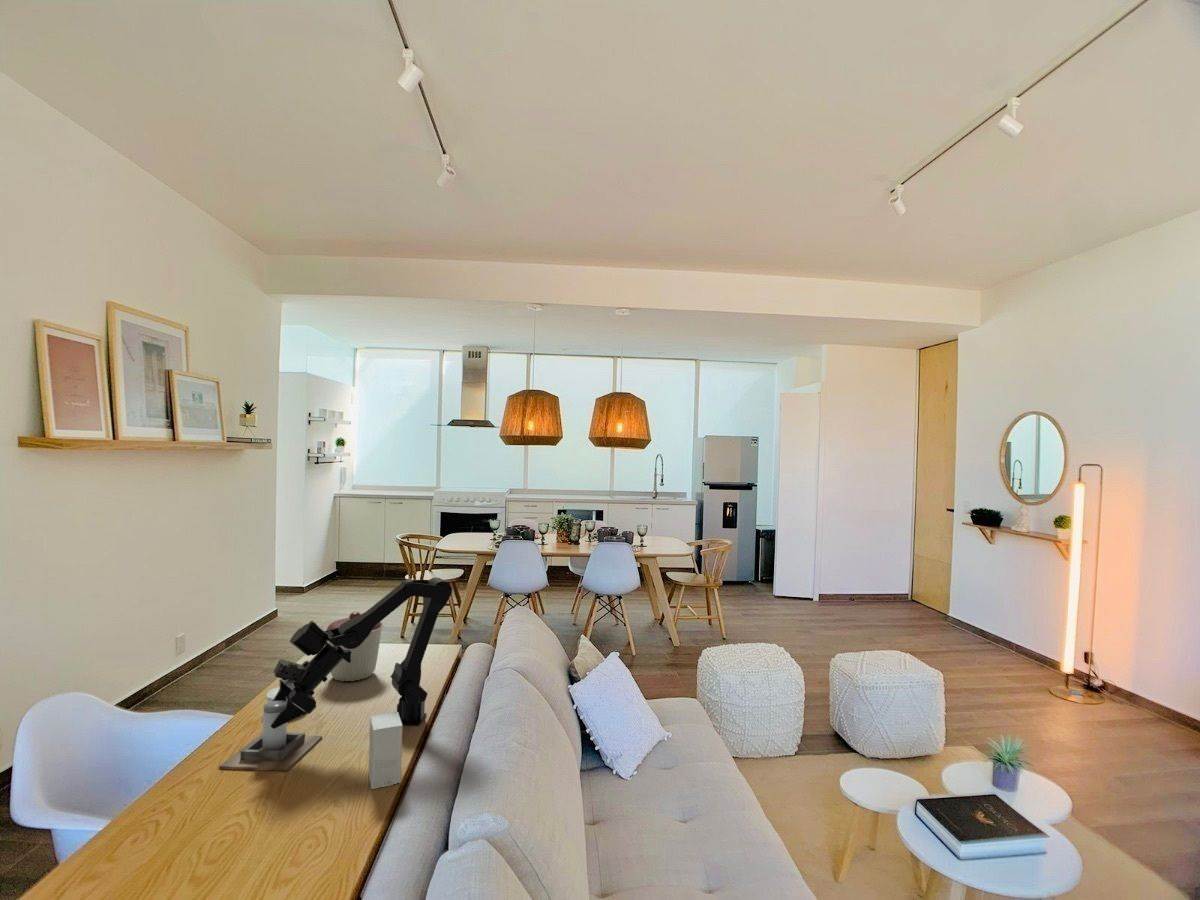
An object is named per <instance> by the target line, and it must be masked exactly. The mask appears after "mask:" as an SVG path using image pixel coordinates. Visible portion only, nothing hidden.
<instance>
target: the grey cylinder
mask: <svg viewBox="0 0 1200 900" xmlns="http://www.w3.org/2000/svg"><path fill="white" fill-rule="evenodd" d="M285 705H286V701H284V700H278V701H272V702H269V703H268V702H266V703H265V704H264V705H263V710H262V711H263V713H262V733H261V734H262V750H274V751H281V750H282V749H283V748H284V747H286V737H287V731H288V730H287V729H288V727H287V726H288V722H287V723H285V724H283V725H281V726H279V727H277V728H275V729H273V728H272V727H271V724H272V723H273V722H274V720H275V719H276V717H277V716H278V715H279V714H280V712H281V711H282V710H283V708H284V707H285Z"/></svg>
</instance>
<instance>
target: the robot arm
mask: <svg viewBox="0 0 1200 900" xmlns="http://www.w3.org/2000/svg"><path fill="white" fill-rule="evenodd" d="M452 593H453V588H452V585H451V584H450V583H449V582H448V581H446V580H444V579H442V578H440V577H432V578H430V579H403V580H402V581H401V582H400V584H399V585H398V586H396V587H395V588H394V589H392V590H390V592H388V594H386V595H385V596H384V597H382V598H381V599H380V600H379V601H377V602H376V603H375V604H373V606H371V607H370V608H369V609H367V610H366V611H365V612H363V613H360V614H361V615H358V616H356V617H353V618H351V619H350V620H348V621H346V622H345V623H343V624H341V625H340V626H339V627H337V628H334V629H330V630H326V631H325V630H323V629H322V628H321V627H320V626H318V624H317V622H315V621H314V620H311V621H309V622H308V623H306V624H304V625H303V626H302V627H299V628H298V629H297V630H296V631H295V632H294V634H293V635H292V636H291V638H290V640H289V643H290V644H291V645H292V646H294V647H295V648H297V649H298V650H299V651H301V652H302V653H303V654H304V655H305V656H307V657H309V656H314V657H313V658H311V660H310V661H309V660H305V661H304V662H303V663H302V664H300V663H297V662H293V661H290V660H287V659H286V660H285V659H281V658H280V659H279V660H278V662H277V664H276V666H275V668H274V669H273V674H274V677H275V678H277V679H278V678H279V680H278V683H279V685H278V687H279V691H278V693H277V694H276V696H275V698H274V699H273V701H278V700H284V701H286V705H285V707H284V708H283V710H282V711H281V712H280V714H279V715H278V716H277V717H276V719H275V720H274V722H273V723H272V724H271V727H272V728H273V729H275V728H277V727H279V726H281V725H283V724H285V723H287V724H288V723H289V722H291V721H293V720H295V719H297V718H300V717H302V716H303V715H304V716H306V715H310V714H312V712H314V710H315V709H316V708H317V701H316V699H315V697H314V695H315V690H316V688H317V687H318V686H319V685H320V684H321V683H322V682H323V683H326V682H327V681H328V677H327V676H328V675H330V674H331V671H332V670H333V669H334V668H335V667H336V666H337V665H338V664H339V662H340V661H341V660H342V659H344V660H345V661H347V662H348V663H350V662H351V653H352V652H351V651H350V650H344V649H343V648H341V647H340V646H343V647H344V648H347V649H355V648H357V647H358V646H360V645H361V644H362V643H363V641H364V640H365V639H366V638H367V637H368V636H369V634H370V633H371V631H372V630H373V628H374V627H375V626H376V625H377V624H378V623H379V622H380V621H381V622H383V620H384V619H386V617H388V616H389V615H390V614H391V613H393V612H394V611H395V610H396V609H397V608H399V607H400V606H401V605H402V604H403V603H405V602H406V601H407V600H409V599H410V598H411V597H419V598H420V597H421V598H422V610H421V613H420V616H419V617H418V618H419V619H418V621H417V624H416V627H415V630H414V633H413V636H412V638H411V641H410V644H409V648H408V650H407V652H406V655H405V658H404V659H403V660H402V661H401V663H398V662H395V663H394V664H395V665H394V669H393V672H392V674H391V675H390V676H389V677H390V678H391V686H392V688H393V689H394V690H395V691H396V693H397V694H398V695H399V696H400V697H399V699H398V703H397V704H396V712H398V713H399V716H400V719H401V722H402V725H403V726H404V725H405V726H407V725H408V726H419V725H421V723H422V721H424V719H425V718H426V716H427V713H426V712H425V707H426V706H425V705H426V704H425V703H426V699H427V696H428V692H427V691H426V690H425V689H424V688H423V687H422V686H421V685H420V684H421V679H422V663H423V659H424V656H425V653H426V651H427V648H428V645H429V642H430V639H431V636H432V634H433V630H434V628H435V625H436V622H437V619H438V616H439V613H440V612H442V611H443V609H444V608H445V607H446V605H447V603H448V602H449V600H450V598H451V596H452ZM328 640H329V642H331V643H332V644H333V645H334V646H332V645H331V644H329V643H328V642H327V641H328Z"/></svg>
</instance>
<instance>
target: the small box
mask: <svg viewBox="0 0 1200 900" xmlns="http://www.w3.org/2000/svg"><path fill="white" fill-rule="evenodd" d="M369 723H370V724H369V726H370V727H369V745H368V746H369V750H368V770H367V772H368V779H369V783H370V789H371V790H375V789H381V788H384V787H390V786H394V784H395V785H398V784H397V783H399V784H401V783H402V755H403V754H402V753H403V727H404V725H402V722H401V719H400V716H399V713H398V712H397V711H395V712H388V713H382V714H374V715H370V722H369ZM380 787H381V788H380Z"/></svg>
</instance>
